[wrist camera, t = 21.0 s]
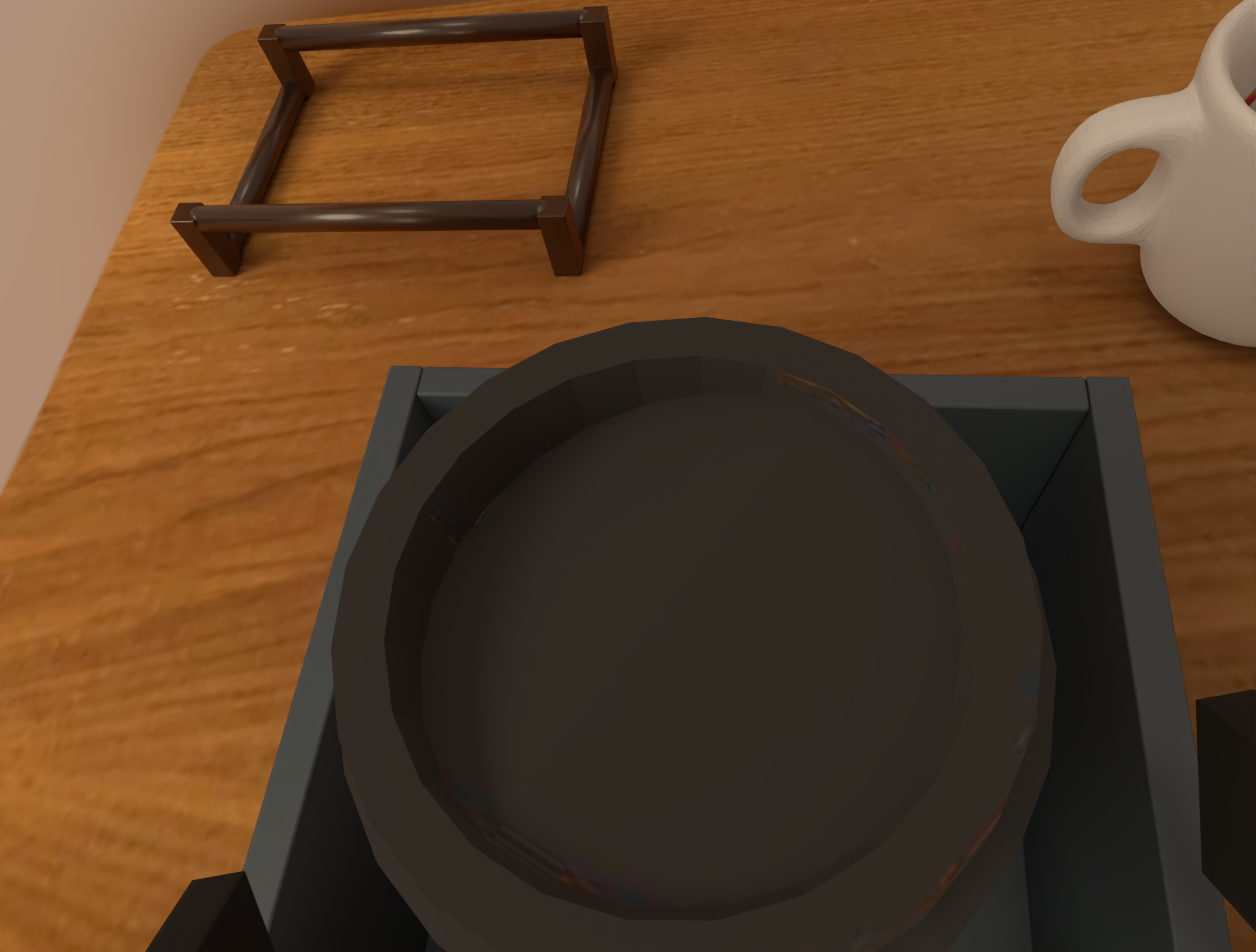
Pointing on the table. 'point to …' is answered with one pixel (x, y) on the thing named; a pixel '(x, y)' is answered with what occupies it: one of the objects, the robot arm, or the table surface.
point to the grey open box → (1083, 706)
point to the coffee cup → (693, 656)
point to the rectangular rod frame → (558, 217)
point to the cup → (1183, 186)
